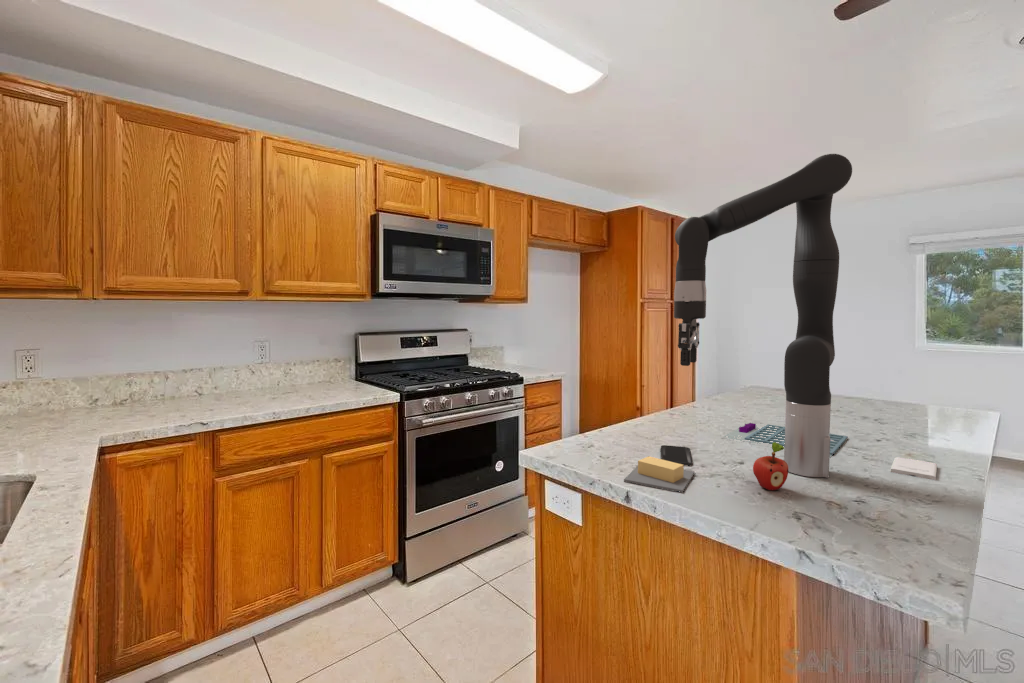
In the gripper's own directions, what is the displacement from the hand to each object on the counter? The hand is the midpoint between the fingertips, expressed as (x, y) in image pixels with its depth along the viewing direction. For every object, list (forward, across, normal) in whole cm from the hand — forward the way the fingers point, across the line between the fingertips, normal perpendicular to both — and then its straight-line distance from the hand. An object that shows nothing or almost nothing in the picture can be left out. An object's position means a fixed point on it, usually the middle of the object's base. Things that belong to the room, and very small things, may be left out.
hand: (688, 363), depth 117 cm
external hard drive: (+27, -25, +49) cm, 61 cm away
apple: (+26, +7, +19) cm, 33 cm away
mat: (+26, +13, -4) cm, 29 cm away
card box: (+26, +13, -4) cm, 29 cm away
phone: (+27, -6, -4) cm, 28 cm away
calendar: (+27, -42, +21) cm, 54 cm away
